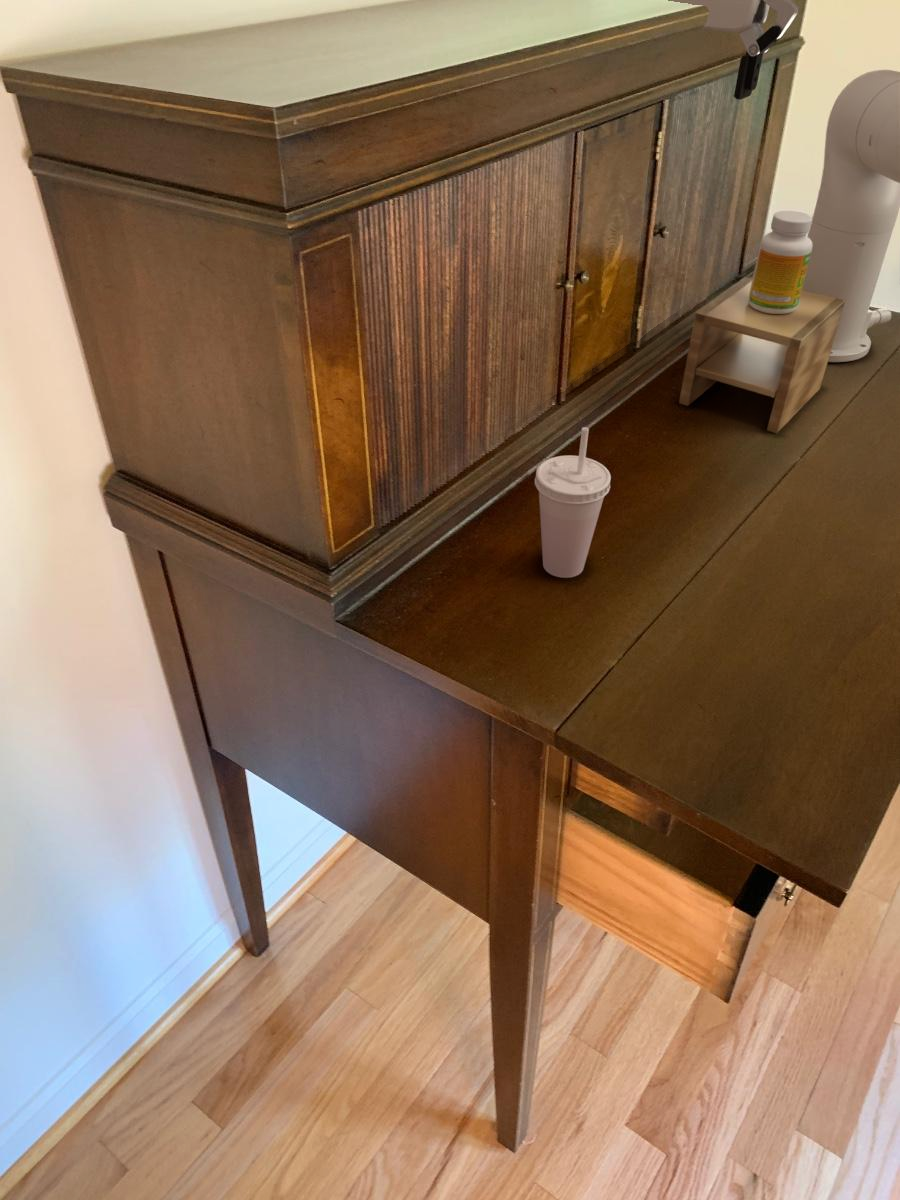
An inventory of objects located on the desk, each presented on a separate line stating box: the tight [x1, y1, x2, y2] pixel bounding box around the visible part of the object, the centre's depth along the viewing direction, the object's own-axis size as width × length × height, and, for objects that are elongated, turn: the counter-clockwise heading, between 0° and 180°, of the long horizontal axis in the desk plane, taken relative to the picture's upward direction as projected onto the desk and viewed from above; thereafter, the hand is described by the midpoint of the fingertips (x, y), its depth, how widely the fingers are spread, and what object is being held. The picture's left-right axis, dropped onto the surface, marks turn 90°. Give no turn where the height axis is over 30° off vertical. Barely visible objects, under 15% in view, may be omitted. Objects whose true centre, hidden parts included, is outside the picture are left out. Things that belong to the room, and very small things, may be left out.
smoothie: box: [534, 426, 612, 579], centre depth 79 cm, size 6×6×14 cm
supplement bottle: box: [748, 210, 813, 314], centre depth 100 cm, size 5×5×10 cm
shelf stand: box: [678, 276, 845, 434], centre depth 106 cm, size 14×12×11 cm
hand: (700, 91), depth 99 cm, fingers open, 9 cm apart
